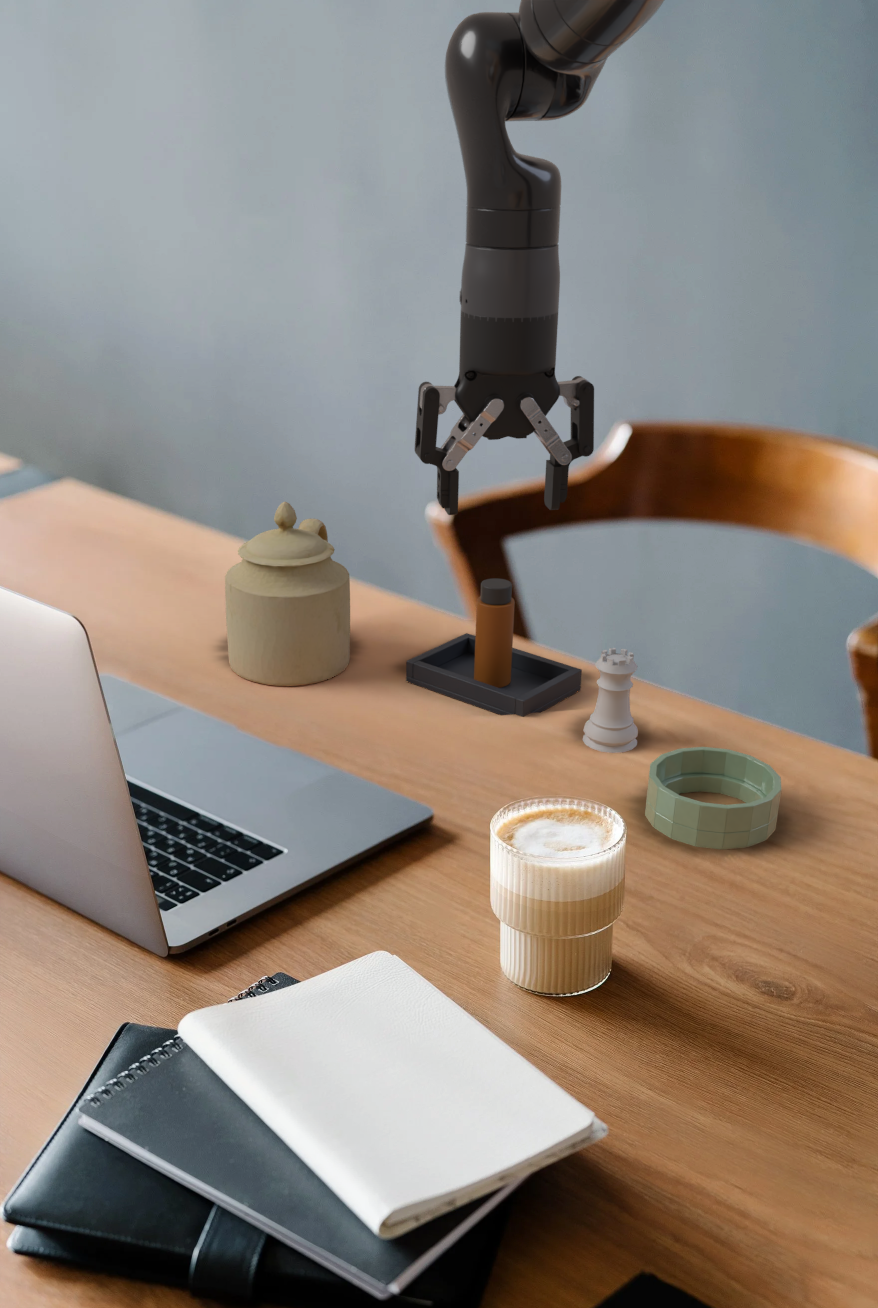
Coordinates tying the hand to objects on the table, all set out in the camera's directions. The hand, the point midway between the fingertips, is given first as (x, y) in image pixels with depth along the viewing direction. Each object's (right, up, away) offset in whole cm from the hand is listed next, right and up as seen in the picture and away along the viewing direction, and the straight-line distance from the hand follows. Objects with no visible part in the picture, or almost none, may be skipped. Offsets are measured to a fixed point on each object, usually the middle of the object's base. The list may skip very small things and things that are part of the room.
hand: (501, 509), depth 114 cm
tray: (0, -14, +7) cm, 16 cm away
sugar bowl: (-19, -11, +13) cm, 26 cm away
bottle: (0, -14, +7) cm, 15 cm away
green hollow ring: (+13, -26, -15) cm, 33 cm away
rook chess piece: (+8, -20, -3) cm, 22 cm away
